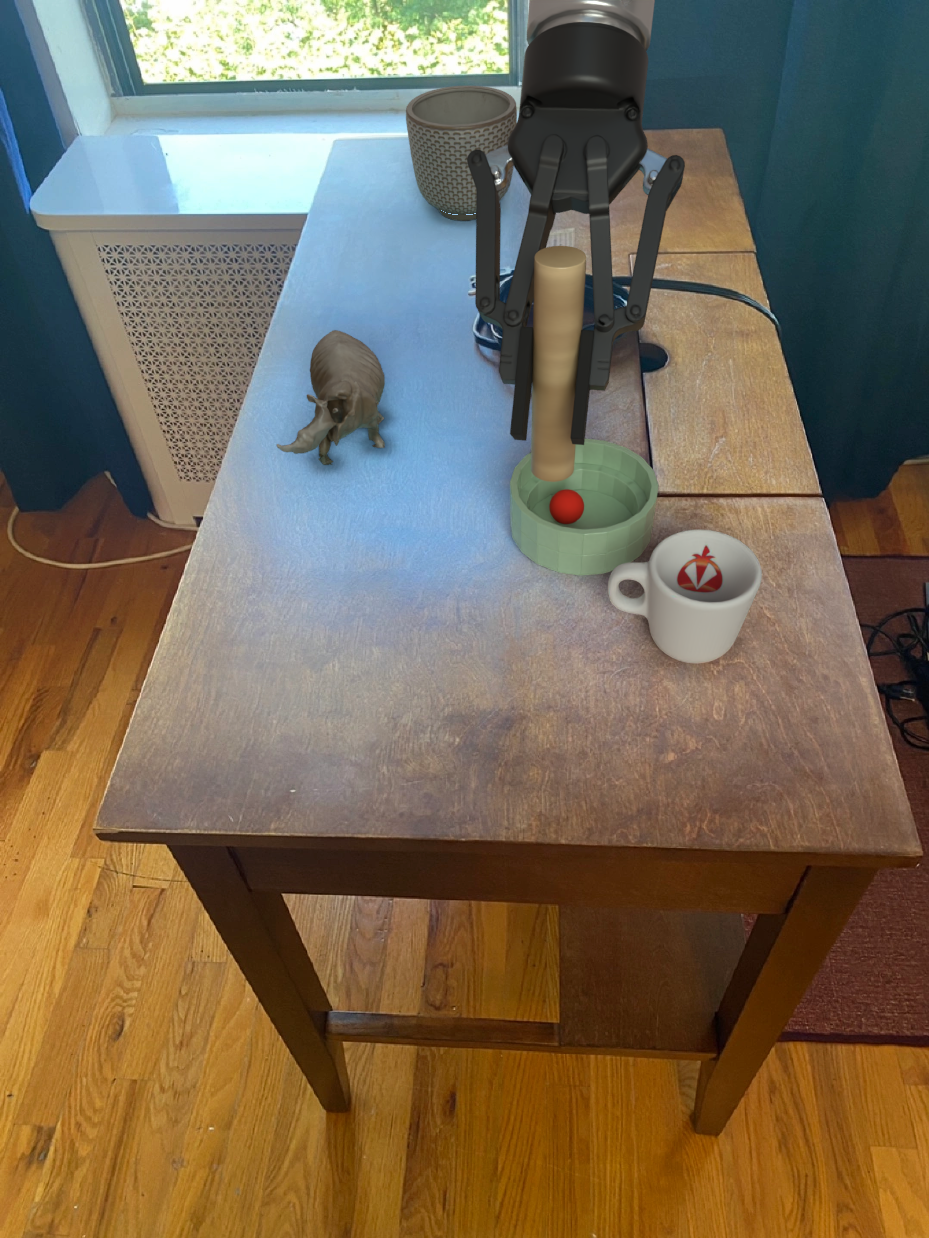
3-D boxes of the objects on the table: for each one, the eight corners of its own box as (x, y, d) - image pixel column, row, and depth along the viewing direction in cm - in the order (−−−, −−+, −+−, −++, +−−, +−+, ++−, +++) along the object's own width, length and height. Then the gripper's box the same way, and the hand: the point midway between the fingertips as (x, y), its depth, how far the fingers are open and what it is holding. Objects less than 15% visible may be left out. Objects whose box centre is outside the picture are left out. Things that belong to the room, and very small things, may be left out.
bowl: (677, 556, 78) (686, 507, 74) (547, 599, 75) (548, 551, 71) (609, 472, 86) (614, 424, 82) (489, 509, 83) (487, 461, 79)
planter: (413, 190, 128) (404, 89, 118) (512, 183, 128) (511, 81, 118) (414, 237, 119) (405, 131, 109) (522, 229, 119) (522, 122, 109)
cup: (596, 662, 71) (603, 591, 65) (610, 588, 76) (618, 516, 70) (740, 685, 69) (761, 613, 63) (744, 607, 74) (764, 535, 68)
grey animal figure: (408, 358, 95) (365, 293, 80) (403, 488, 94) (359, 445, 79) (336, 362, 97) (282, 298, 82) (330, 489, 95) (274, 448, 81)
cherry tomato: (576, 535, 80) (556, 521, 77) (556, 520, 82) (536, 506, 80) (596, 506, 79) (577, 492, 77) (576, 492, 81) (556, 478, 79)
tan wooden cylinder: (581, 475, 63) (595, 261, 52) (541, 486, 62) (547, 272, 51) (562, 452, 65) (572, 241, 54) (523, 462, 64) (525, 251, 53)
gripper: (715, 85, 58) (674, 456, 60) (466, 81, 61) (433, 438, 62) (730, 14, 51) (683, 440, 52) (446, 14, 53) (409, 420, 55)
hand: (547, 438), depth 57 cm, fingers closed on tan wooden cylinder, 3 cm apart
